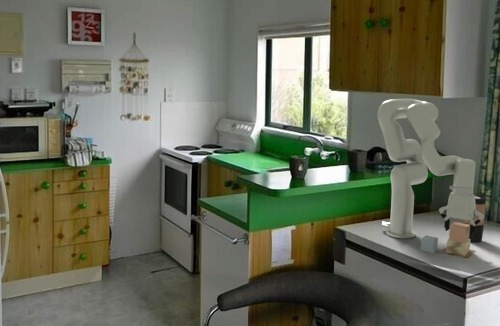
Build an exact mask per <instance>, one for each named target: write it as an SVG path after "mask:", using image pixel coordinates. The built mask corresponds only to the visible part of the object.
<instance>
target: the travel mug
mask: <svg viewBox="0 0 500 326" xmlns="http://www.w3.org/2000/svg"><path fill="white" fill-rule="evenodd" d="M486 202H487V197H486V196H485V195H475V206H476V210H477V211H478V212H480V213H481V214H483V215H484V218H483V219H482V220H481V222H480V223H478V224H477V225H476V232H475V233H474V234H473V235H470V232H469V239H470V243H473V244H475V243H476V244H478V243H481V242H482V241H483V234H484V226H485V214H486ZM478 219H479V216H477V215H476V214H475V220H476V221H477V220H478ZM464 224H468V225H470V229H471V225H472V224H471V222H470V221H466V220H464Z"/></svg>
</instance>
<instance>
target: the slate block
mask: <svg viewBox="0 0 500 326" xmlns="http://www.w3.org/2000/svg"><path fill="white" fill-rule="evenodd" d="M420 241H421V242H420V243H421V244H420V251H423V252H427V253H432V254H433V253H435V252H436V251H437V250H438V245H439V244H438V243H439V237H436V236H431V235H425V236H423V237H422V238H421V240H420Z"/></svg>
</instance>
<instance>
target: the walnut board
mask: <svg viewBox="0 0 500 326" xmlns="http://www.w3.org/2000/svg"><path fill="white" fill-rule="evenodd" d="M446 250H447V246H446V247H445V248H443V249H442V250H441V251H439V253H440V254H445V255H449V256H454V257H458V258H463V259H469V258H470V257H471V256H472V255H474V254H475V253H476V250H473V249H470V250H469V252H468V253H467V254H466V255H465V256H462V255H458V254H453V253H448V252H446Z"/></svg>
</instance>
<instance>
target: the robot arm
mask: <svg viewBox="0 0 500 326" xmlns="http://www.w3.org/2000/svg"><path fill="white" fill-rule="evenodd" d="M438 118H439V109H438V107H437V106H436V105H435V104H434V103H432V102H429V101H424V100H419V99H414V98H393V99H388V100H385V101H383V102H381V104H380V106H379V108H378V110H377V120H378V124H379V127H380V129H381V133H382V135H383V139H384V143H385V147H386V151H387V154H388V158H389V159H390V160H391V161H392V162H395V163H396V162H397V163H401V162H406V163H401V164H397V165H396V166H394V167H393V168H392V169H391V172H390V183H391V202H390V204H391V205H390V219H389V222H386V221H381V227H382V228H386V231H385V234H386V235H387V236H389V237H392V238H396V239H413V238H414V237H415V236H416V232H415V231H414V230H413V219H414V205H415V201H414V200H415V194H414V190H413V188H412V186H413V185H419V184H423V183H425V181H426V180H427V178H428V176H429V172H431V174H433V175H434V176H436V177H443V176H448V175H453V185H449V190H451V192H450V193H449V196H448V201H447V205H446V206H441V207H440V208H439V209H438V211H439V213H440V216H441V218H442V219H443V221H444V231H446V232H447V231H450V225H451V219H455V220H460V221H465V220H466V221H470V222H471V224H472V225H471V229H470V235H473V234H474V233H475V232H476V225H477V224H478V223H480V222H481V220H482V219H483V218H484V219H485V217H484V215H483V214H481V213H480V212H478V211H477V210H476V206H475V196H476V194H474V187H475V186H474V185H475V177H476V176H475V174H476V162H475V160H473V159H471V158H462V157H460V156H458V155H451V154H450V155H444V156H440V155H439V152H438V151H437V149H436V147H435V140H436V139H438V138H439V136H441V129H440V128H439V126H438V125H437V124H436V122H435V121H436V120H437V119H438ZM398 119H408V121H409V124H411V127H412V129H413V130H414V131H415V133H416V134H417V137H418V138H419V140H420V143H421V144H420V143H419V142H418V141H417V140H416V139H413V138H407V139H406V138H405V135H404V130H403V128H402V126H401V125H400V123H399V122H398V121H397V120H398ZM445 211H446V213H445ZM475 214H476V215H477V216H479V219H478V220H477V221H476V220H475Z"/></svg>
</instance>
